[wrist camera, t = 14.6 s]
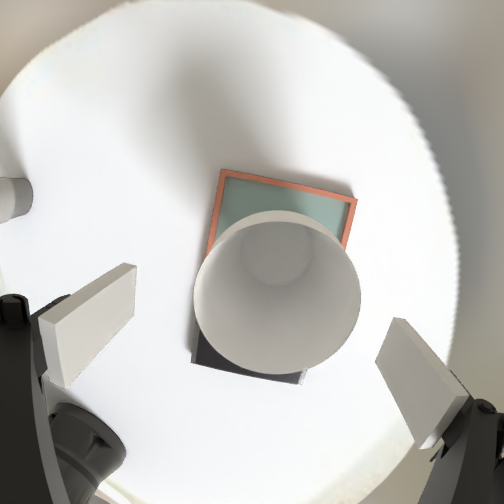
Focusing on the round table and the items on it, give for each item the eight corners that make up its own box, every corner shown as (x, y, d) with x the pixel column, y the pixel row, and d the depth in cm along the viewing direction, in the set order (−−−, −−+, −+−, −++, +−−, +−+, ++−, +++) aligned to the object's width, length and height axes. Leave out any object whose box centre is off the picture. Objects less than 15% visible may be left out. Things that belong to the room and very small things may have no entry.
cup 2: (259, 179, 25) (243, 181, 13) (346, 233, 25) (396, 277, 14) (209, 265, 27) (164, 328, 16) (292, 312, 28) (300, 397, 16)
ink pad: (193, 356, 30) (189, 365, 29) (201, 296, 28) (197, 303, 27) (300, 378, 30) (301, 388, 28) (321, 320, 28) (323, 329, 26)
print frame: (201, 293, 28) (199, 297, 27) (223, 169, 25) (221, 168, 24) (321, 318, 28) (323, 323, 27) (354, 198, 25) (357, 199, 24)
